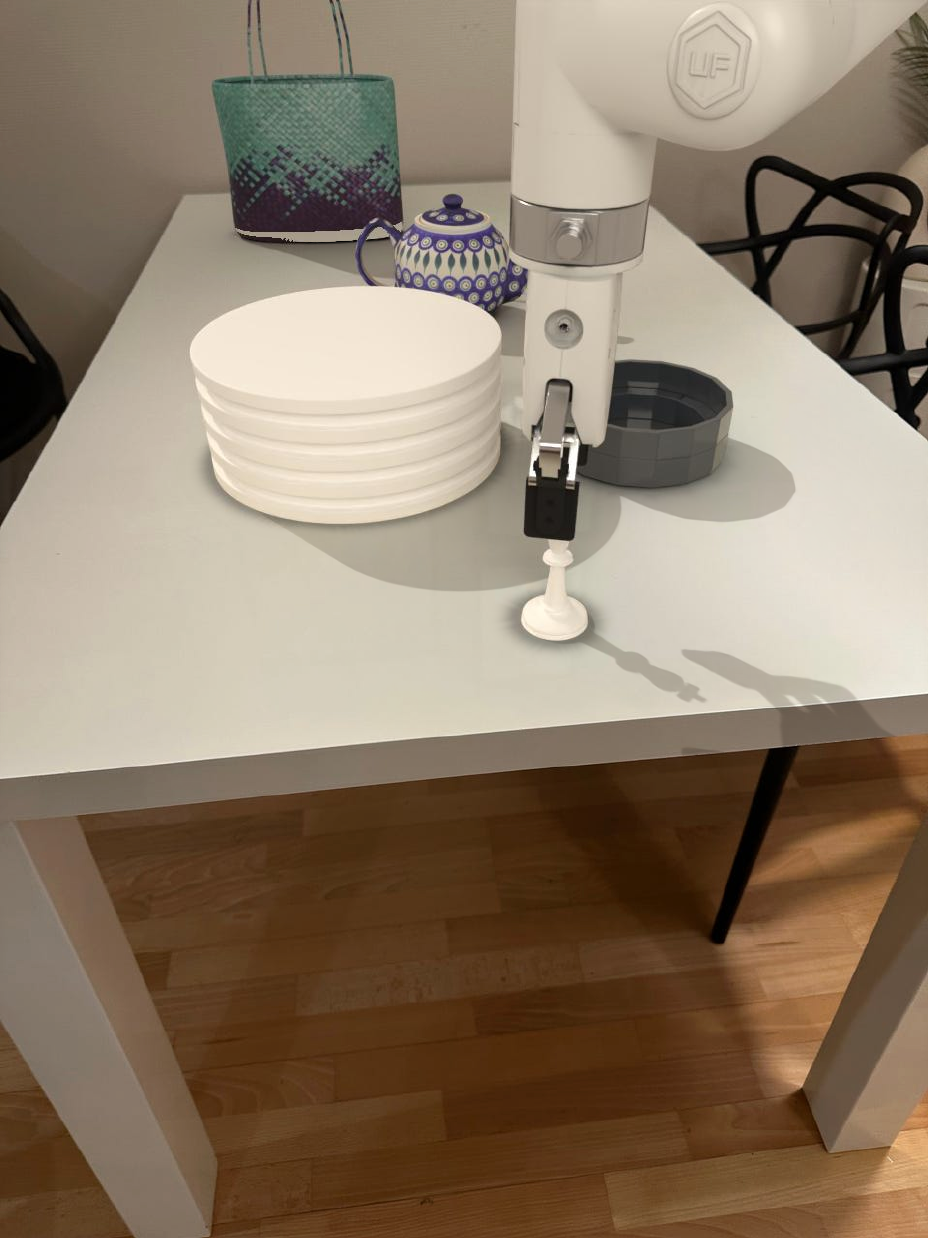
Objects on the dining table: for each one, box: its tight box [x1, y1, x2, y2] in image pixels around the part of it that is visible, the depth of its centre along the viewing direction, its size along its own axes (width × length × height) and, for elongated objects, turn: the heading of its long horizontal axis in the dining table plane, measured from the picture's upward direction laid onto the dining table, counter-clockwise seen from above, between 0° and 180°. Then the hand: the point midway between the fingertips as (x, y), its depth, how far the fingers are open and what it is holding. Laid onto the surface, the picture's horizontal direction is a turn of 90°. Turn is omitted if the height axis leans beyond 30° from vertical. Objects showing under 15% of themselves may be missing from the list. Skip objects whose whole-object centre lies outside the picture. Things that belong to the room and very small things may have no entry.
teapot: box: [354, 193, 528, 315], centre depth 114 cm, size 25×15×15 cm, turn 85°
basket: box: [211, 0, 404, 243], centre depth 138 cm, size 28×12×40 cm, turn 88°
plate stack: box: [189, 285, 503, 525], centre depth 85 cm, size 28×28×12 cm
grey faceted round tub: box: [577, 358, 734, 489], centre depth 85 cm, size 16×16×6 cm
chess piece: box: [520, 539, 589, 641], centre depth 63 cm, size 5×5×10 cm
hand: (557, 497), depth 60 cm, fingers open, 9 cm apart
